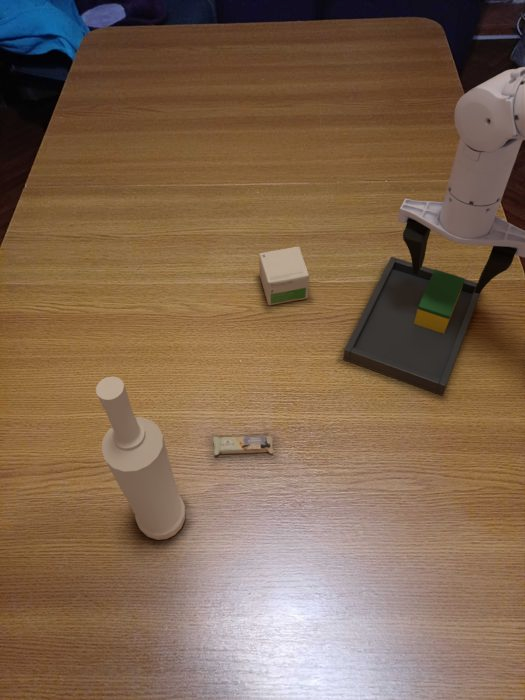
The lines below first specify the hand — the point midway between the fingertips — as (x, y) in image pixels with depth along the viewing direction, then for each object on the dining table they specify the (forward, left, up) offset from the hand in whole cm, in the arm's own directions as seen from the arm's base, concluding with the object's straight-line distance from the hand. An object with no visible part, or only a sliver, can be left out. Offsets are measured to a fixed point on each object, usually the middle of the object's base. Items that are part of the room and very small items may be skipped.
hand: (447, 278), depth 75 cm
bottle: (+18, +39, -7) cm, 44 cm away
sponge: (0, 0, -6) cm, 6 cm away
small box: (+20, +4, -7) cm, 22 cm away
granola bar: (+14, +28, -7) cm, 32 cm away
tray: (+2, +3, -7) cm, 8 cm away
